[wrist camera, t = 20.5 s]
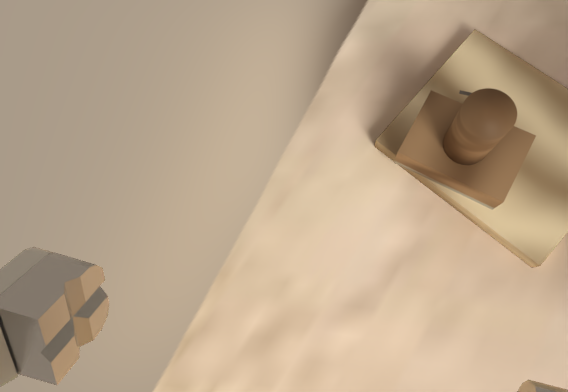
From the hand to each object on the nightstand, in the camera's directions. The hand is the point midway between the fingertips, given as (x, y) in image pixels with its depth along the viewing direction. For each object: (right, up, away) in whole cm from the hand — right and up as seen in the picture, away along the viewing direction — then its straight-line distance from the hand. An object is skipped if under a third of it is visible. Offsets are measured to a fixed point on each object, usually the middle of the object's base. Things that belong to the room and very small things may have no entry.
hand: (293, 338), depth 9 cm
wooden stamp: (+13, +6, +27) cm, 30 cm away
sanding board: (+17, +7, +28) cm, 33 cm away
